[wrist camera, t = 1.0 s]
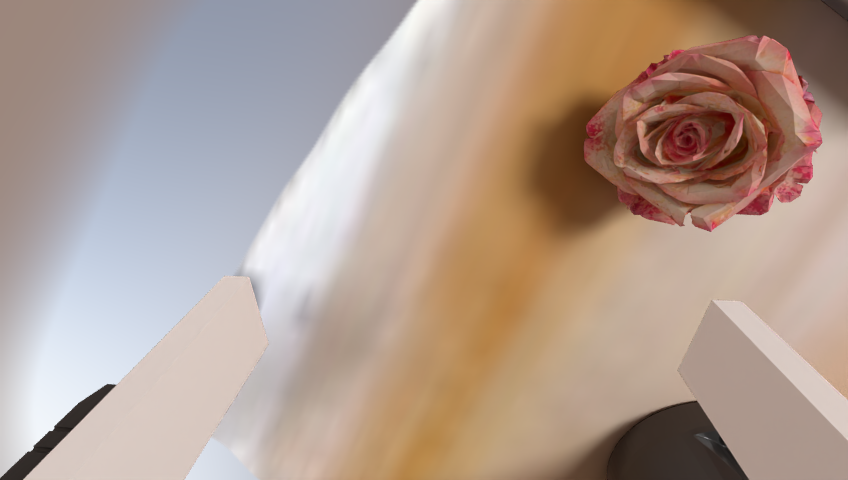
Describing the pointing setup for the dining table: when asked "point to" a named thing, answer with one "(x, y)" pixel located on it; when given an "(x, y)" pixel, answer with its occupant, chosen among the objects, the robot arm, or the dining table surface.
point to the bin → (839, 7)
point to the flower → (708, 134)
